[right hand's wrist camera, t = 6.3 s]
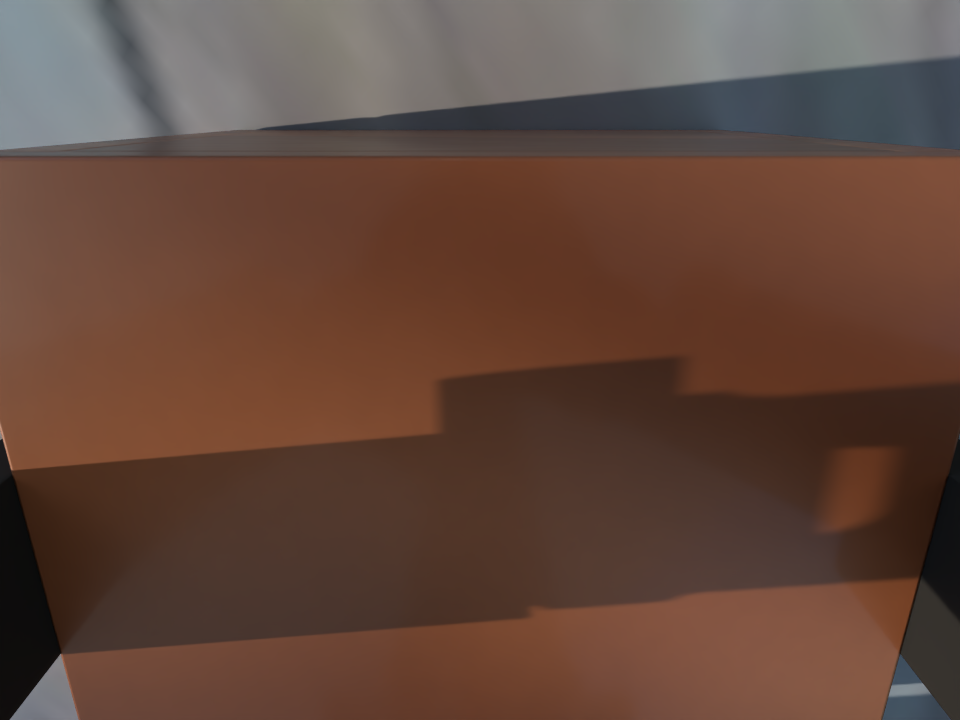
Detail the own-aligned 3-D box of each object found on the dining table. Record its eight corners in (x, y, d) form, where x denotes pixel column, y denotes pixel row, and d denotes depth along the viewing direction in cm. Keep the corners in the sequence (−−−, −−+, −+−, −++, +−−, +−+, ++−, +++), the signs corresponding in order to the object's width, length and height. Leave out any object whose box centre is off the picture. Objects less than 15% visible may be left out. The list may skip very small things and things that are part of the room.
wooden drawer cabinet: (656, 698, 22) (778, 1106, 13) (303, 698, 22) (181, 1106, 13) (723, 129, 16) (1038, 155, 7) (236, 129, 16) (-77, 156, 7)
